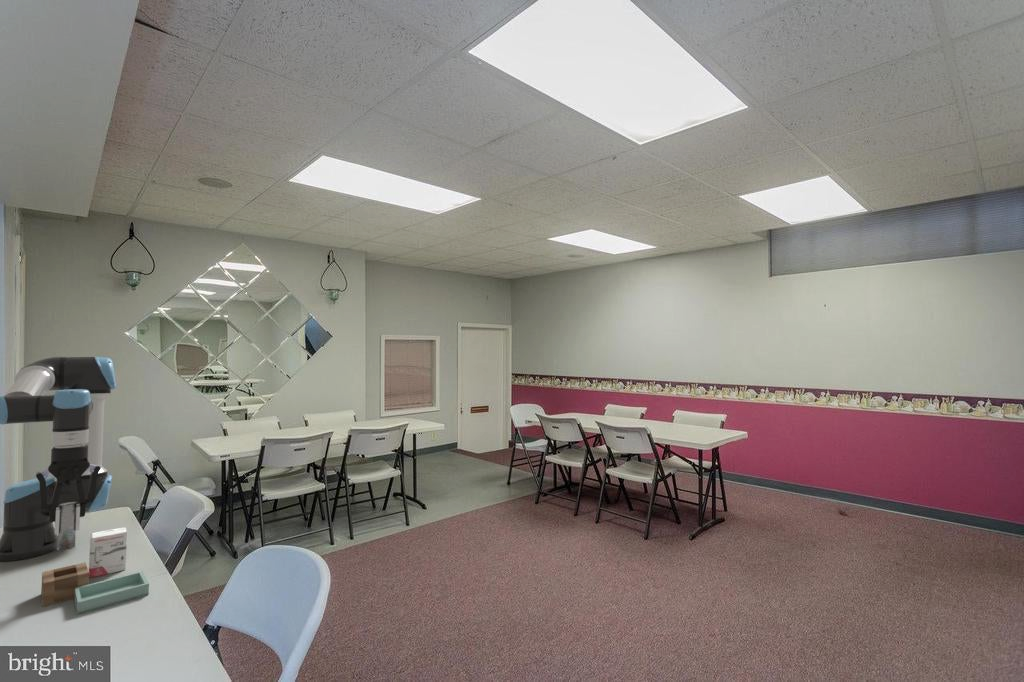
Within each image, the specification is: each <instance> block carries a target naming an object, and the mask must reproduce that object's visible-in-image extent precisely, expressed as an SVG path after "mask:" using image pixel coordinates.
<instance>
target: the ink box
mask: <svg viewBox="0 0 1024 682" xmlns="http://www.w3.org/2000/svg"><path fill="white" fill-rule="evenodd" d="M89 541H90V542H89V555H88V556H89V558H88V572H89V578H91V579H92V578H95V577H99V576H103V575H107V574H108V575H109V574H113V573H117V572H122V571H125V570H126V569H127V568H126V567H127V566H126V563H127V549H128V548H127V546H128V545H127V542H128V529H127V527H119V528H113V529H106V530H102V531H101V530H100V531H96V532H93V533H91V534H90V540H89Z"/></svg>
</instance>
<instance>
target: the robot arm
mask: <svg viewBox="0 0 1024 682" xmlns="http://www.w3.org/2000/svg"><path fill="white" fill-rule="evenodd" d="M113 363H114V362H113V360H112V359H111V358H109V357H102V356H53V357H46V358H42V359H40V360H35V361H33V362H30V363H28V364H27V365H24V366H23V367H22V368H20V370H19V371H17V373H16V374H15V377H14V382H13V384H12V385H11V387H10V388H9V389H8V391H7V392H6V393H5V394H4V396H2V395H0V425H9V424H11V425H12V424H27V423H28V424H29V423H39V422H40V423H43V422H45V423H46V422H52V430H51V431H52V432H51V446H53V447H52V448H51V452H50V453H51V454H50V455H51V456H50V465H49V466H48V467H47V469H45V470H42V471H37V472H36V473H35V478H33V479H28V480H23V481H21V482H17V483H15V484H13V485H10V486H8V488H7V489H6V490H5V492H4V500H3V504H4V506H3V529H2V534H1V536H0V562H10V561H11V562H12V561H19V560H25V559H29V558H34V557H38V556H43V555H45V554H47V553H51V552H52V551H54V550H56V549H57V547H58V534H59V517H60V509H59V505H60V504H63V503H67V502H77V506H76V528H75V531H76V532H77V531H80V522H81V521H80V518H83V517H85V516H86V513H90V512H93V511H101V510H103V509H104V508H105V507H106V506H107V503H108V500H109V495H110V491H111V486H112V480H113V475H110V474H108V469H106V468H105V467H104V466H103V454H104V452H103V451H104V450H103V448H104V429H105V428H104V424H105V407H106V406H105V401H106V399H107V398H108V397H109V396H110V395H111V393H112V392H111V390H115V389H116V388H117V385H116V375H115V367H114V364H113ZM47 391H55V392H54V394H47V395H46V394H45V393H46V392H47ZM49 473H50V474H51V475H52V476H49Z"/></svg>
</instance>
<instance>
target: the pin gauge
mask: <svg viewBox="0 0 1024 682" xmlns="http://www.w3.org/2000/svg"><path fill="white" fill-rule="evenodd" d="M76 506H77V502H67V503H63V504H60V505H59V509H60V517H59V534H57V535H58V547H57V548H56V549H57V551H60V552H61V551H68V550H71V549H74V548H75V547H76V539H77V537H76V536H77V535H76V534H77V531H75V528H76Z"/></svg>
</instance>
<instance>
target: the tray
mask: <svg viewBox="0 0 1024 682" xmlns="http://www.w3.org/2000/svg"><path fill="white" fill-rule="evenodd" d="M149 588H150V582H149V581H148V579H147V577H146V576H145V574H144V572H143V571H142V570H141V571H137V572H133V573H130V574H125V575H122V576H118V577H114V578H110V579H106V580H101V581H97V582H94V583H93V582H92V583H88V585H85V586H81V587H77V588H75V594H74V598H73V599H74V600H73V601H74V605H75V609H76V614H77V615H80V614H83V613H84V614H85V613H88V612H91V611H95V610H98V609H102V608H105V607H110V606H113V605H117V604H120V603H124V602H127V601H130V600H131V601H132V600H135V599H137V598H141V597H145V595H146V596H148V594H149V592H150V591H149V590H150V589H149Z"/></svg>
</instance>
